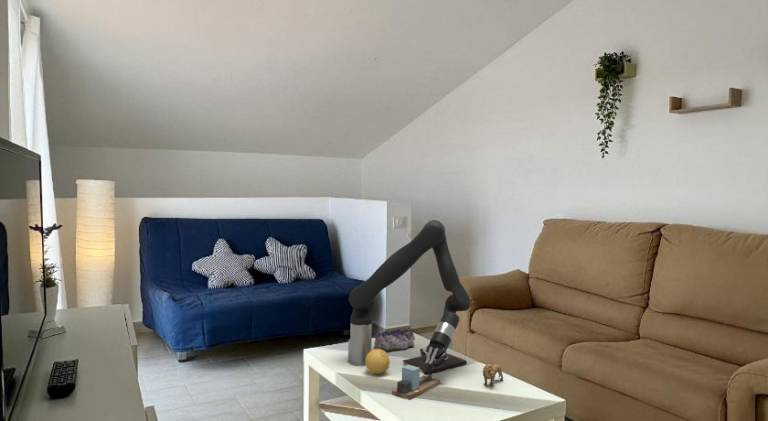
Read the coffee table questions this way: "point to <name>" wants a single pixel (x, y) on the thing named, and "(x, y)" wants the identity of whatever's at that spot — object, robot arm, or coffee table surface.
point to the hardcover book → (447, 365)
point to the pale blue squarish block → (411, 376)
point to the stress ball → (377, 361)
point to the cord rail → (424, 385)
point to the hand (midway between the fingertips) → (425, 373)
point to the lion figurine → (491, 373)
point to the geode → (394, 340)
